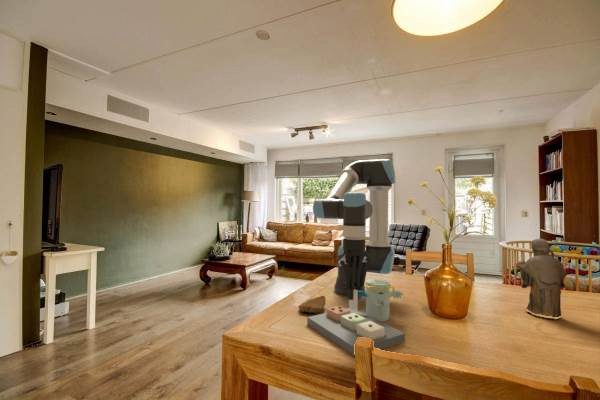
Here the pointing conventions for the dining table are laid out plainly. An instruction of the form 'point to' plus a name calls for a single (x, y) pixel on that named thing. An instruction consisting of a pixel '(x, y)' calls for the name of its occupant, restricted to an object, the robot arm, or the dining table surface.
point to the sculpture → (543, 279)
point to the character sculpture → (378, 298)
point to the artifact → (313, 305)
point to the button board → (353, 332)
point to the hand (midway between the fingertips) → (353, 308)
